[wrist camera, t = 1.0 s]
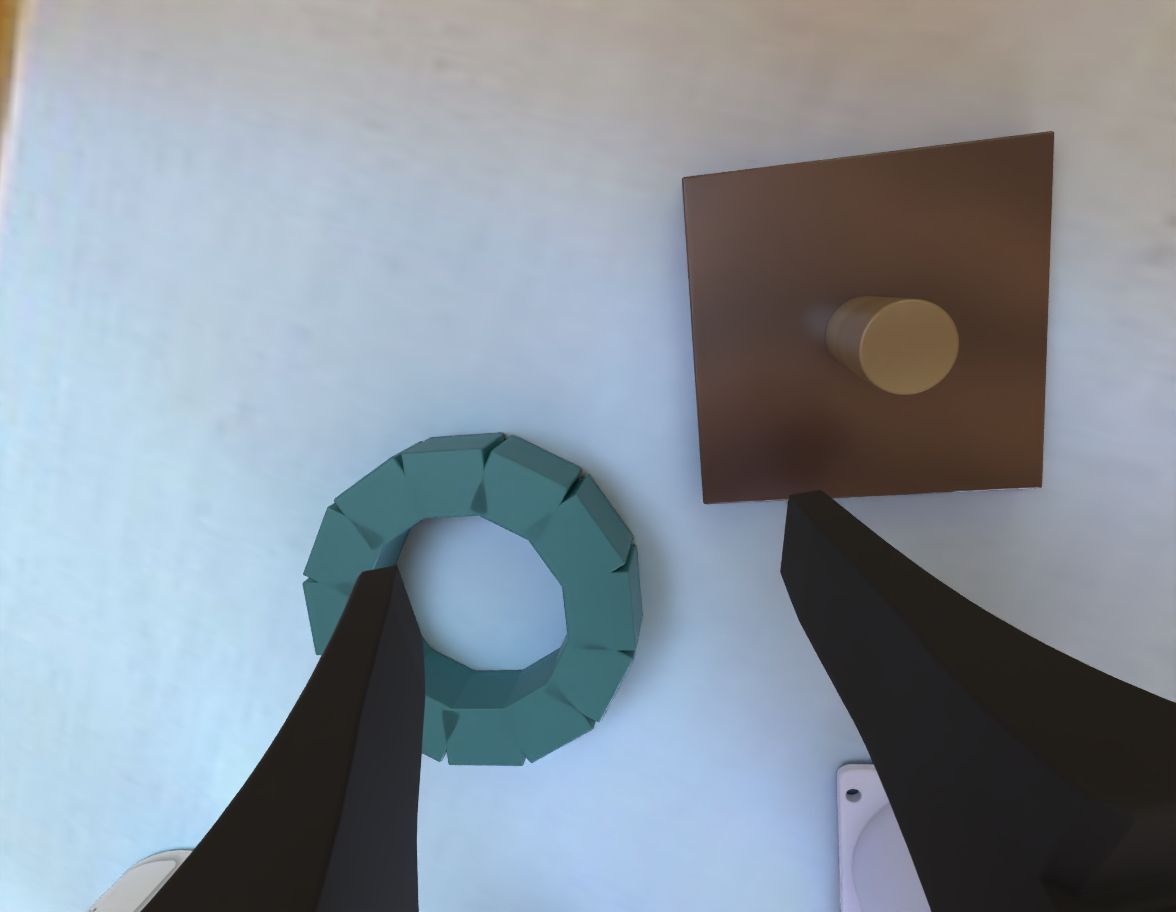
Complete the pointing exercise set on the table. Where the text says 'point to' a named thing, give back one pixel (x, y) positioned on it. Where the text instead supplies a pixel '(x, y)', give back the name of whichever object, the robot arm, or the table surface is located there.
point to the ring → (562, 539)
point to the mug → (140, 883)
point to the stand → (872, 321)
